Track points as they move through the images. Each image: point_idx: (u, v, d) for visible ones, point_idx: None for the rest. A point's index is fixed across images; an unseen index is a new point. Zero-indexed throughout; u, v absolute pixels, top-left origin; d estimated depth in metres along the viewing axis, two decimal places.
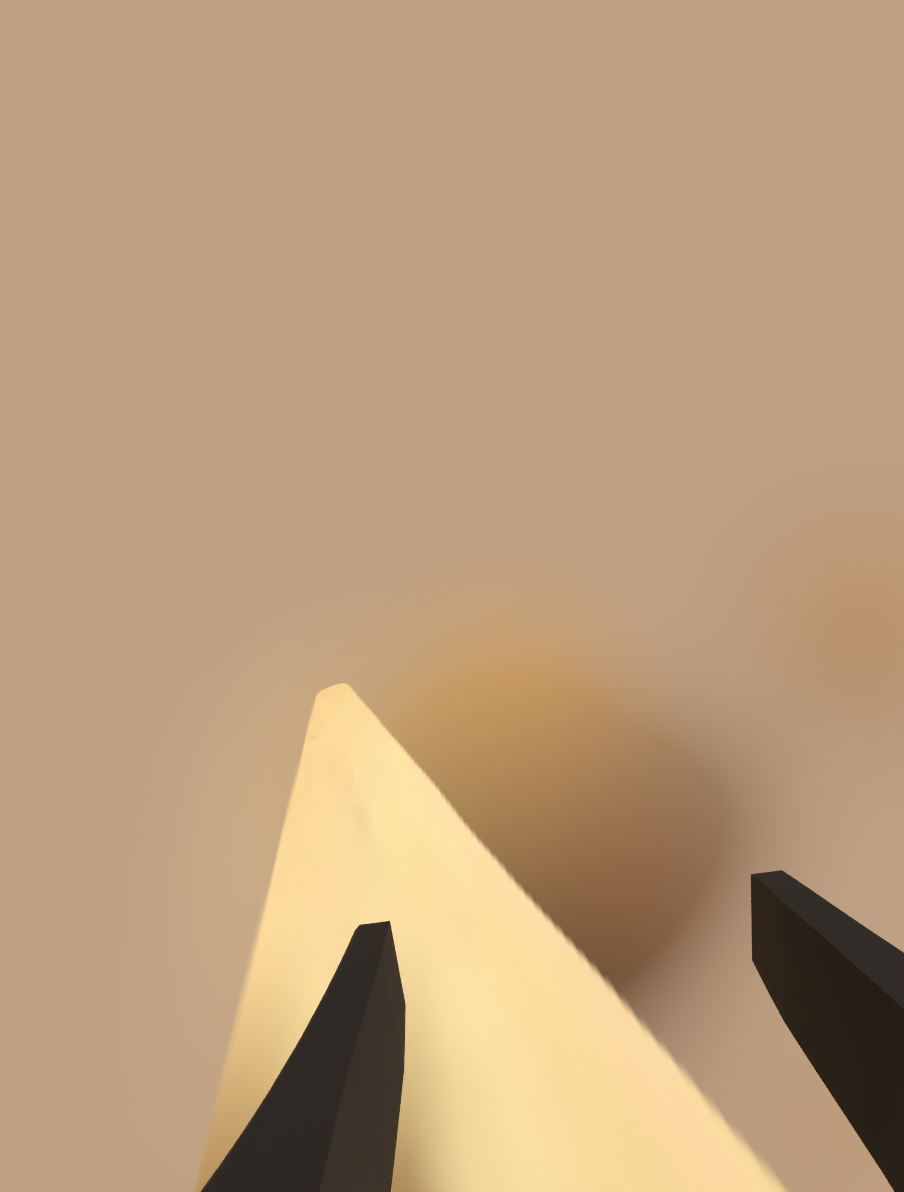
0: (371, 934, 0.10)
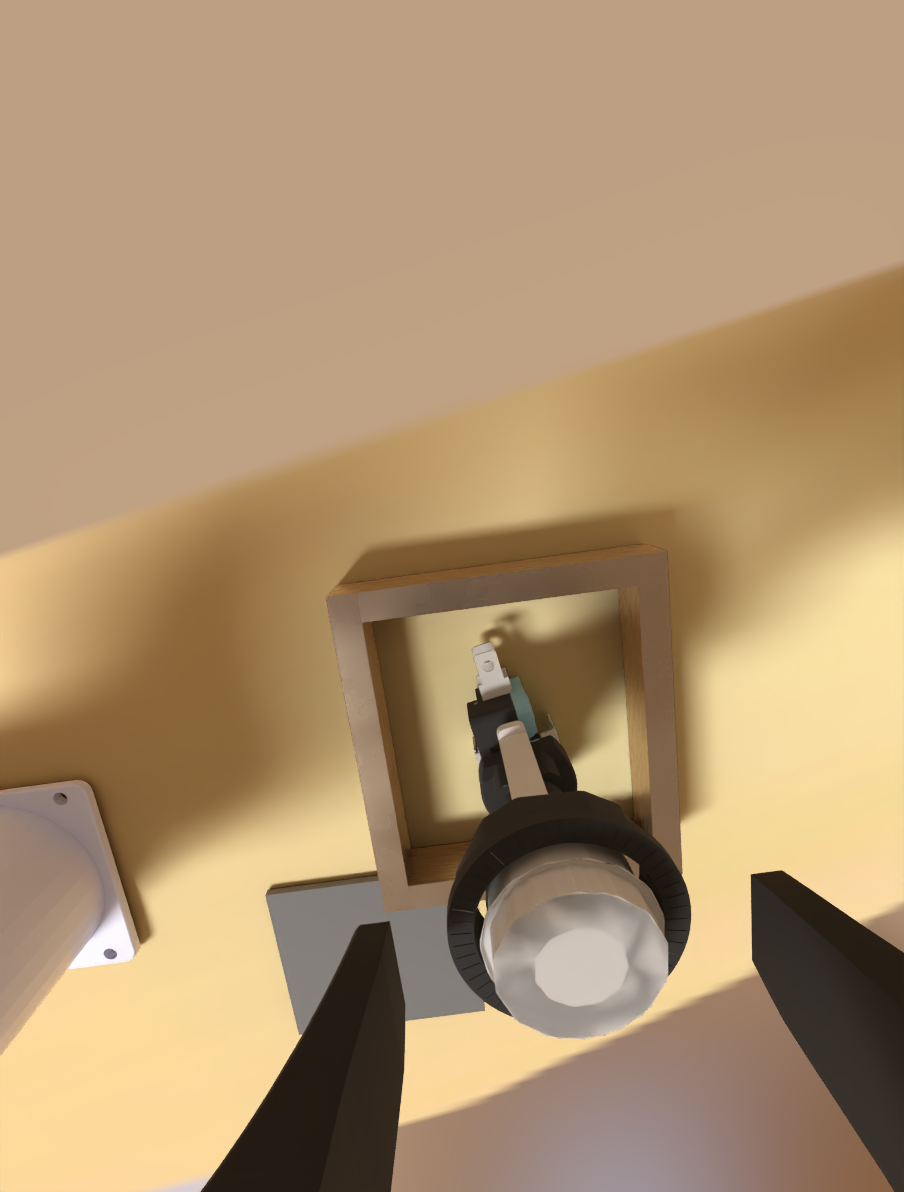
0: (372, 934, 0.10)
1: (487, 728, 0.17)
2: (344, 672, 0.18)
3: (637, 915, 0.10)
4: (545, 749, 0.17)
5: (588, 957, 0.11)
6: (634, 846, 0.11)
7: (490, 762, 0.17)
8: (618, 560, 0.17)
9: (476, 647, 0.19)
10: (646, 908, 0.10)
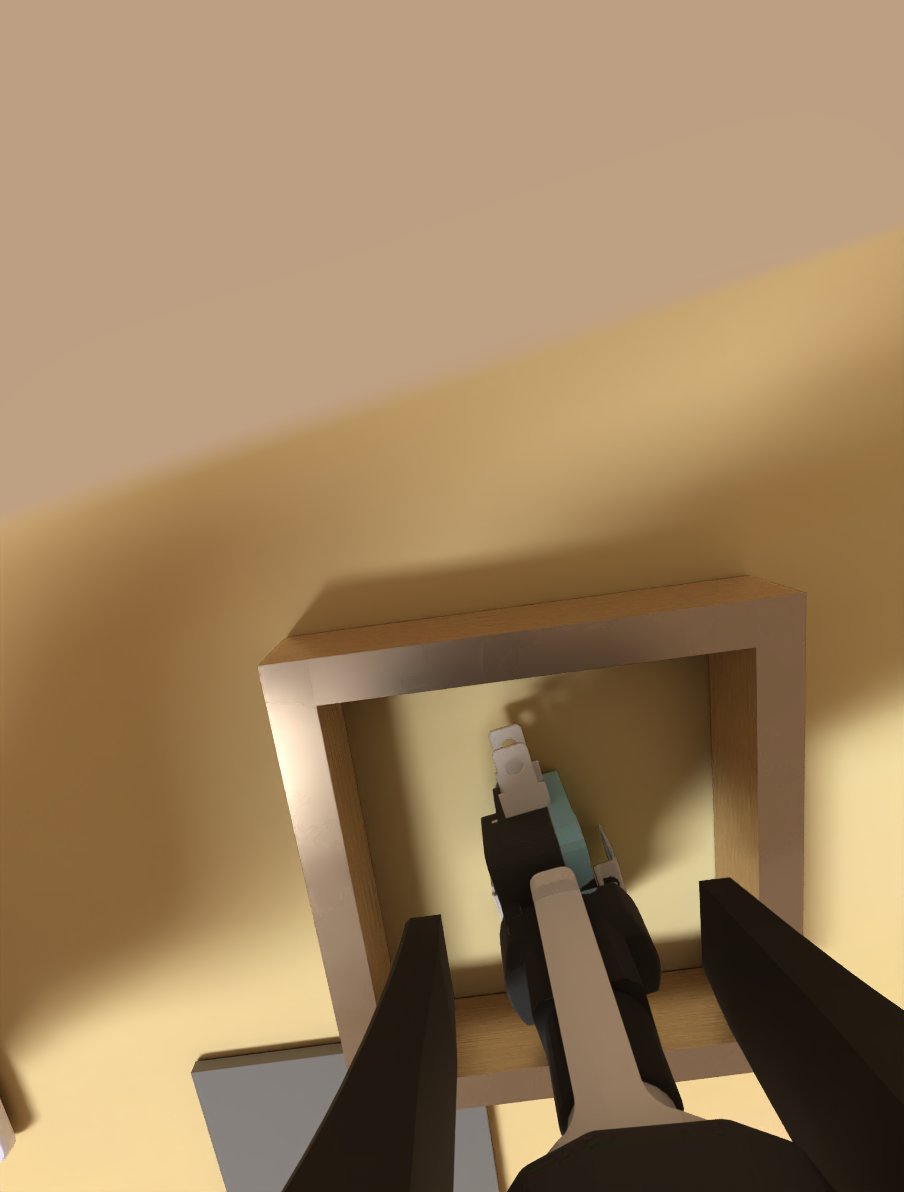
0: (424, 927, 0.10)
1: (514, 872, 0.11)
2: (290, 781, 0.11)
3: None
4: (609, 915, 0.10)
5: None
6: None
7: (519, 931, 0.11)
8: (726, 607, 0.11)
9: (495, 732, 0.13)
10: None
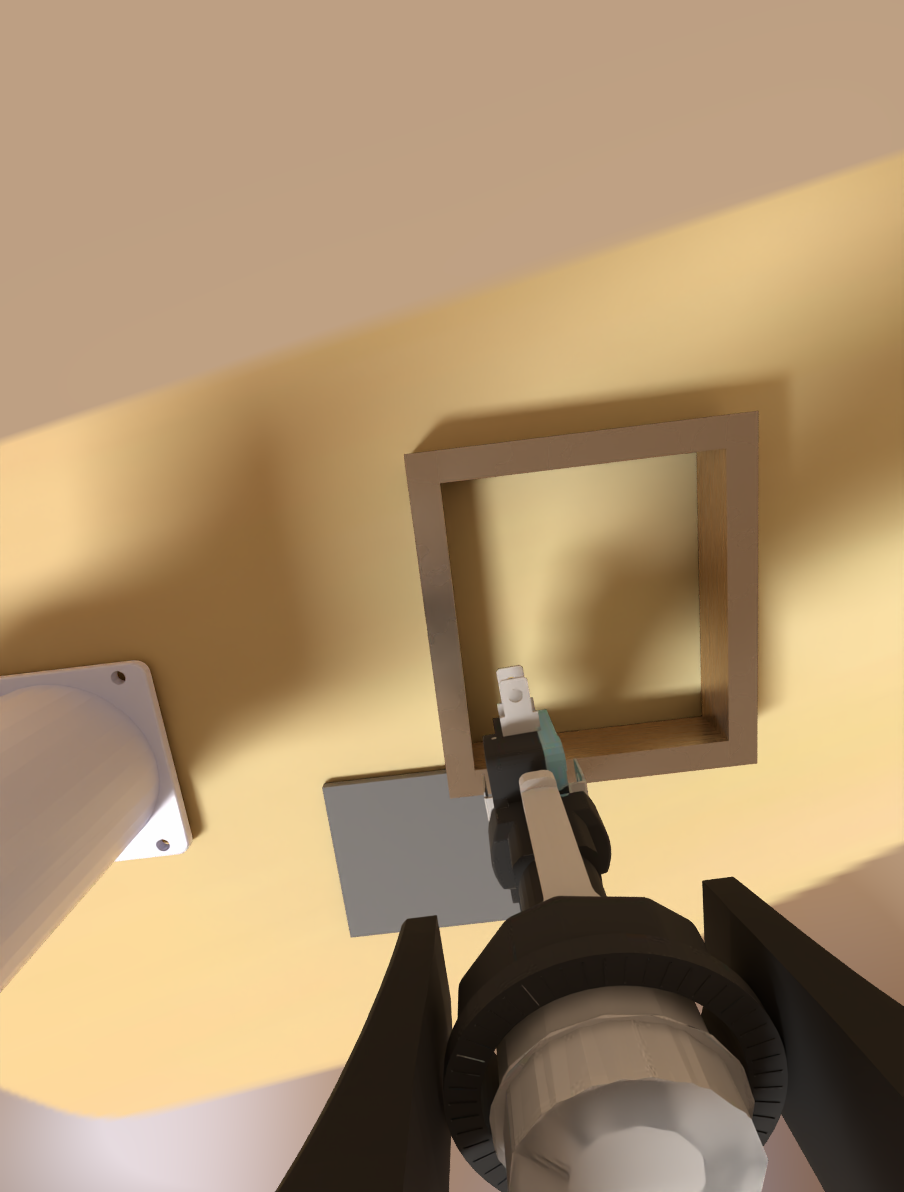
0: (421, 927, 0.10)
1: (507, 773, 0.14)
2: (419, 537, 0.17)
3: (731, 1117, 0.07)
4: (577, 810, 0.13)
5: (650, 1165, 0.07)
6: (726, 1001, 0.08)
7: (506, 817, 0.14)
8: (707, 420, 0.16)
9: (502, 669, 0.16)
10: (744, 1106, 0.07)
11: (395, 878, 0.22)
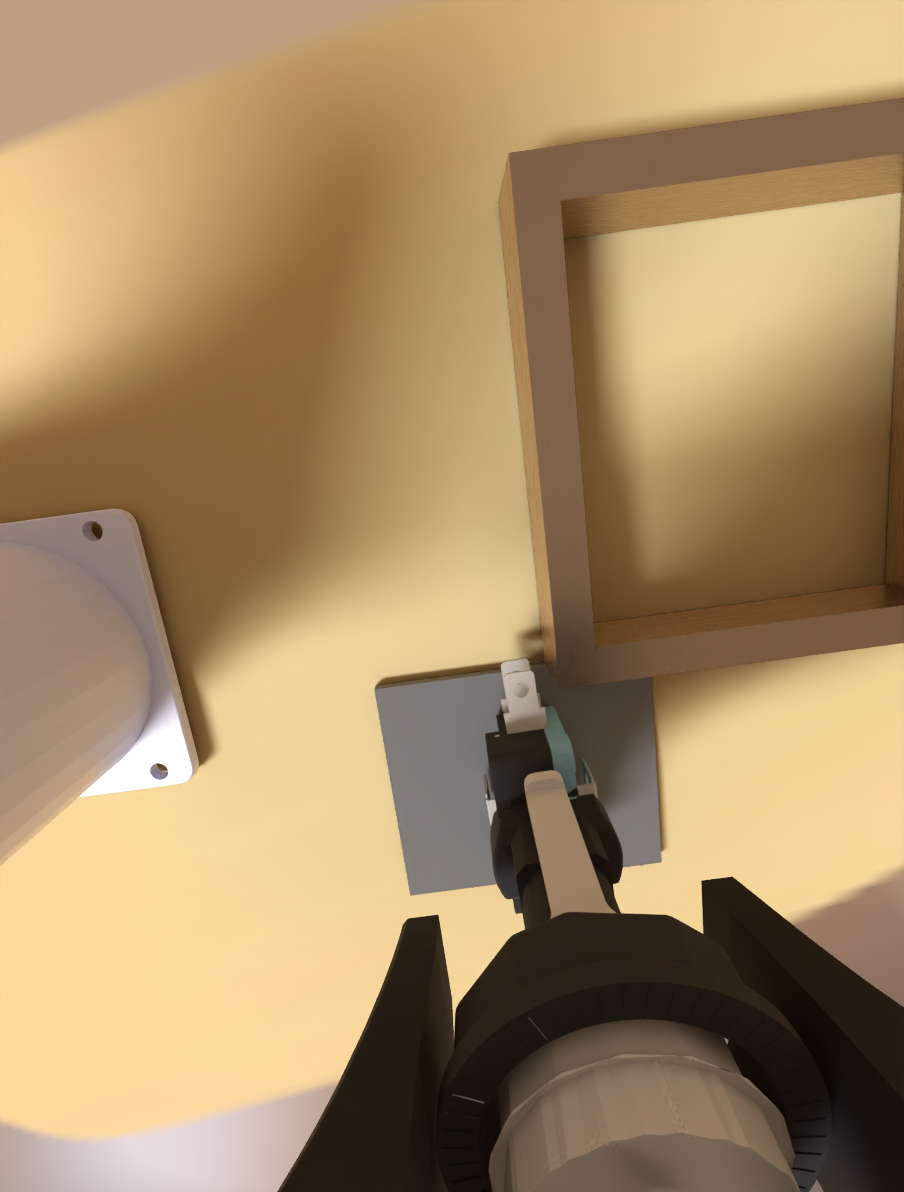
0: (422, 927, 0.10)
1: (511, 773, 0.13)
2: (528, 288, 0.12)
3: (773, 1180, 0.06)
4: (587, 814, 0.12)
5: None
6: (763, 1039, 0.07)
7: (510, 820, 0.13)
8: None
9: (506, 662, 0.15)
10: (787, 1166, 0.06)
11: (470, 814, 0.16)
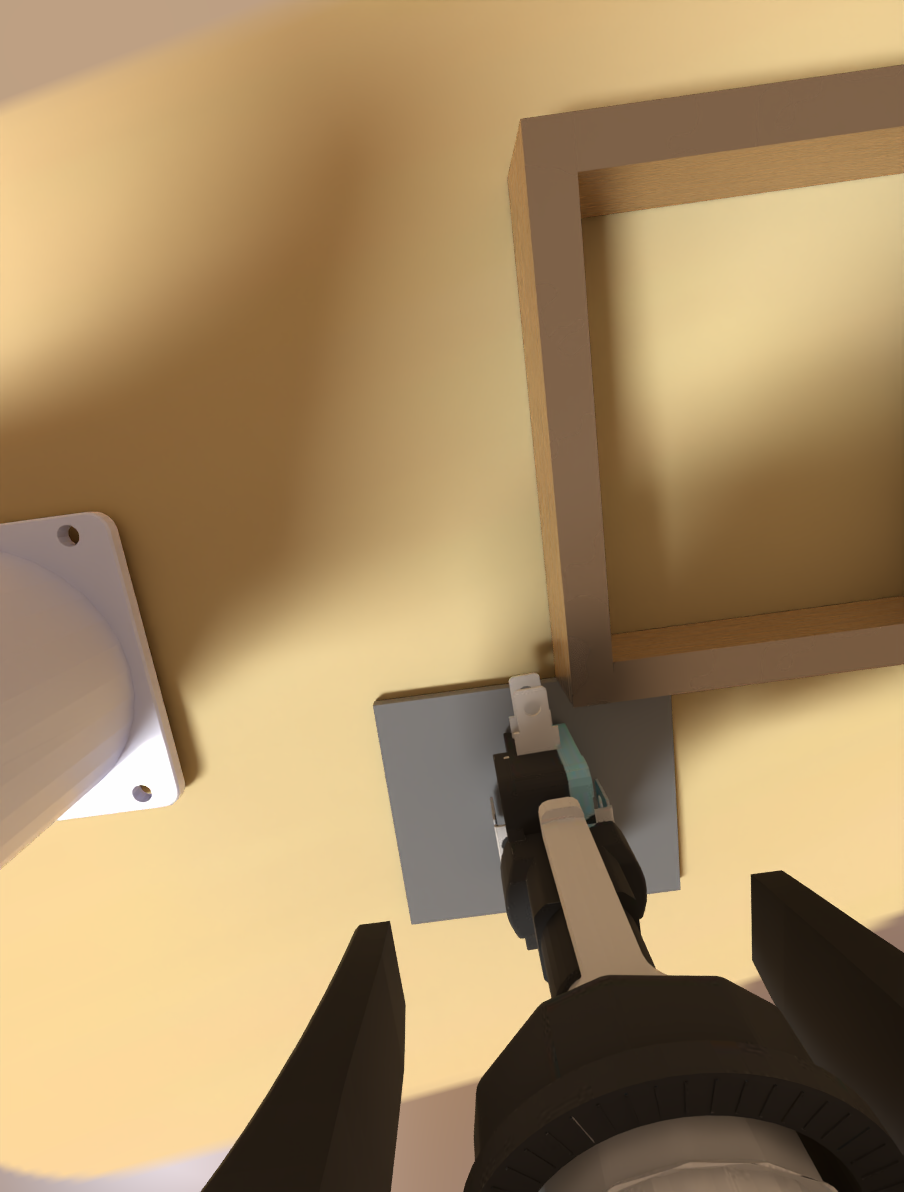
0: (371, 934, 0.10)
1: (523, 800, 0.12)
2: (541, 269, 0.11)
3: None
4: (607, 845, 0.11)
5: None
6: (846, 1134, 0.06)
7: (523, 852, 0.12)
8: None
9: (515, 677, 0.14)
10: None
11: (475, 838, 0.15)
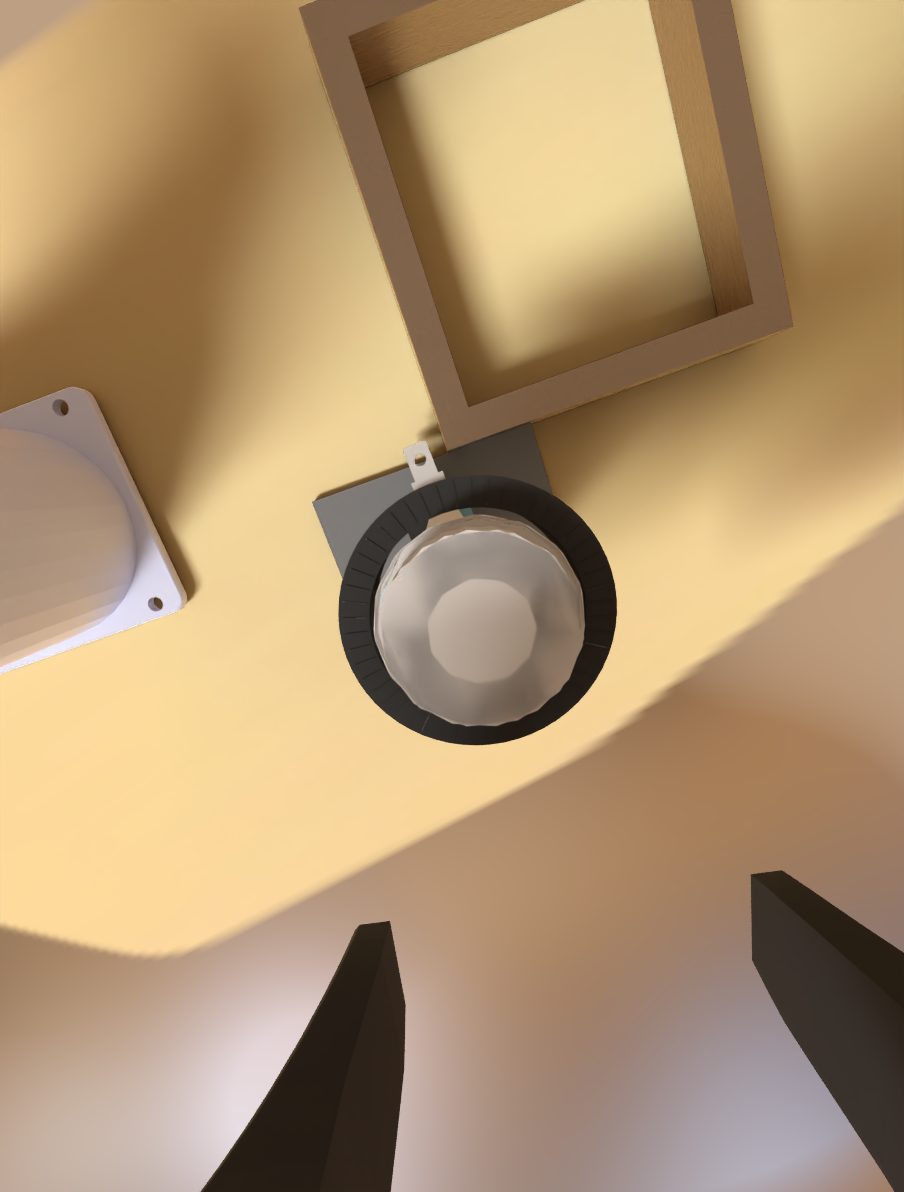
0: (371, 934, 0.10)
1: None
2: (340, 114, 0.15)
3: (540, 559, 0.09)
4: None
5: (488, 617, 0.09)
6: (541, 508, 0.10)
7: None
8: None
9: None
10: (551, 554, 0.09)
11: None
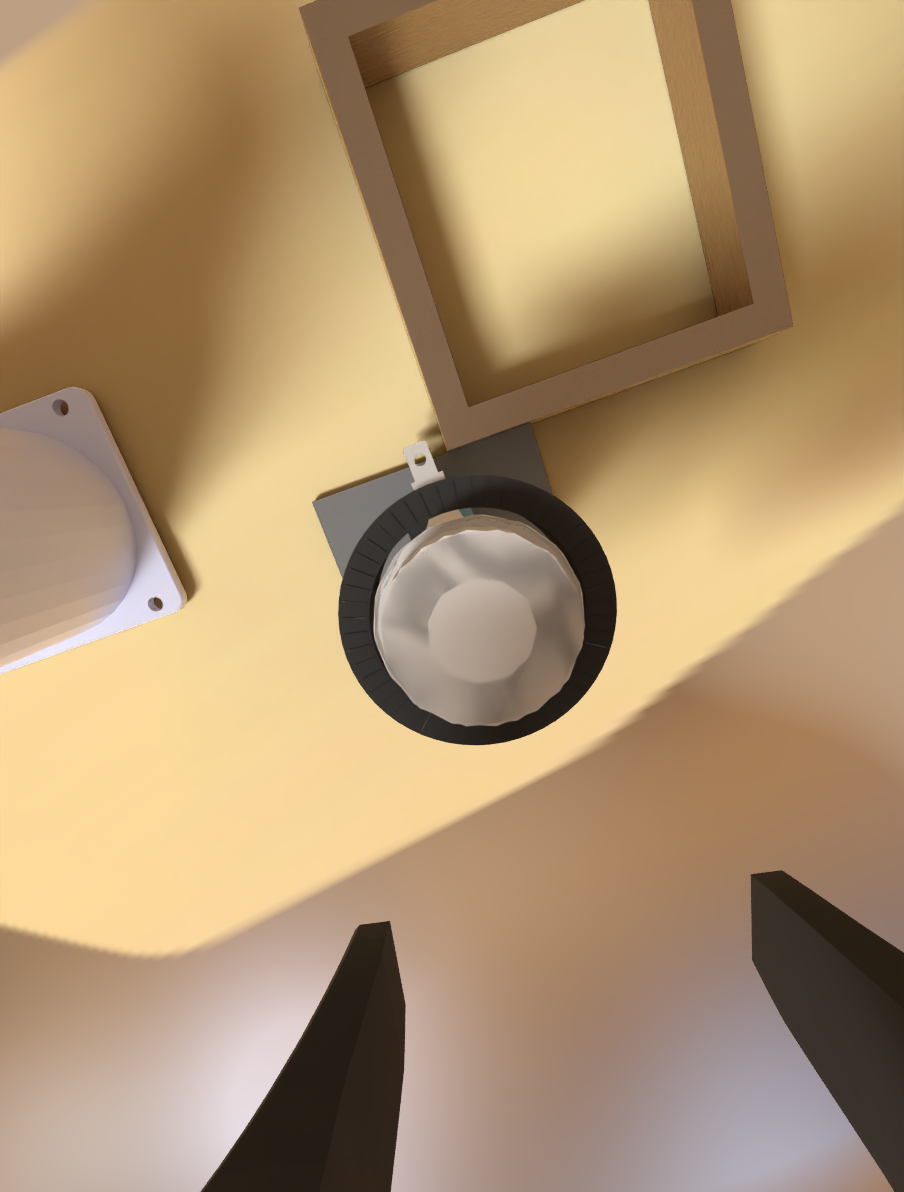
0: (371, 934, 0.10)
1: None
2: (340, 114, 0.15)
3: (539, 559, 0.09)
4: None
5: (488, 617, 0.09)
6: (541, 508, 0.10)
7: None
8: None
9: None
10: (551, 554, 0.09)
11: None
